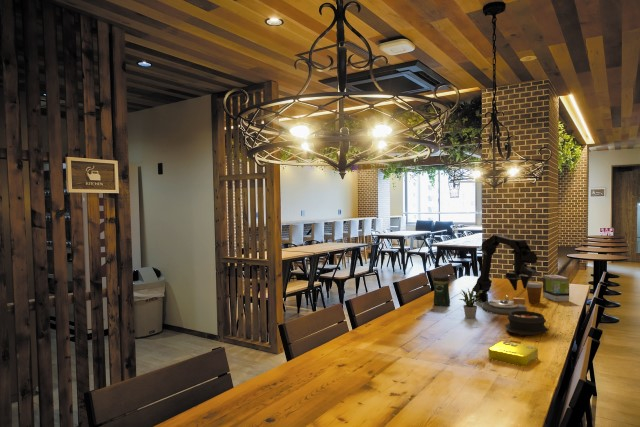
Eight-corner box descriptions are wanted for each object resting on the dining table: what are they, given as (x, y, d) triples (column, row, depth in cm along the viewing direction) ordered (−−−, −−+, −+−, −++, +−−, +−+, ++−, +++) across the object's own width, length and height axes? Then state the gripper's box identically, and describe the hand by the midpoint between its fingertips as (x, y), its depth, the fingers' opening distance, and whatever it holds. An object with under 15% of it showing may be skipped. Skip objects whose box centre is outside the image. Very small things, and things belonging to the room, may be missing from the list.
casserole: (541, 341, 196) (541, 322, 196) (498, 334, 208) (498, 316, 208) (553, 328, 215) (553, 311, 215) (513, 323, 227) (513, 306, 227)
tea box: (570, 301, 275) (569, 277, 275) (553, 301, 275) (553, 278, 275) (557, 296, 290) (557, 274, 290) (542, 296, 290) (541, 274, 290)
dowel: (505, 303, 264) (504, 295, 264) (505, 302, 266) (505, 295, 266) (508, 303, 263) (508, 296, 263) (509, 302, 265) (509, 295, 264)
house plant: (487, 321, 230) (487, 290, 230) (460, 320, 233) (459, 290, 233) (483, 315, 244) (482, 285, 244) (457, 314, 247) (456, 285, 247)
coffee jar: (451, 304, 272) (451, 274, 272) (447, 306, 266) (446, 276, 266) (436, 302, 278) (436, 273, 278) (431, 305, 272) (431, 275, 271)
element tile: (486, 359, 175) (486, 347, 175) (501, 350, 186) (501, 339, 186) (525, 368, 165) (525, 355, 165) (539, 358, 176) (539, 346, 176)
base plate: (476, 311, 254) (476, 307, 254) (489, 303, 273) (489, 300, 273) (520, 316, 239) (520, 313, 239) (531, 308, 258) (531, 304, 258)
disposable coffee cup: (539, 300, 278) (538, 281, 278) (545, 304, 268) (545, 284, 268) (523, 300, 279) (523, 281, 279) (529, 304, 269) (528, 284, 269)
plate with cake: (490, 307, 251) (490, 299, 251) (488, 302, 266) (488, 294, 266) (526, 309, 245) (526, 301, 245) (522, 303, 260) (522, 295, 260)
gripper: (523, 264, 236) (523, 293, 236) (542, 261, 246) (543, 289, 246) (504, 262, 245) (505, 290, 245) (524, 260, 255) (524, 286, 255)
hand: (520, 289), depth 248 cm, fingers open, 9 cm apart
